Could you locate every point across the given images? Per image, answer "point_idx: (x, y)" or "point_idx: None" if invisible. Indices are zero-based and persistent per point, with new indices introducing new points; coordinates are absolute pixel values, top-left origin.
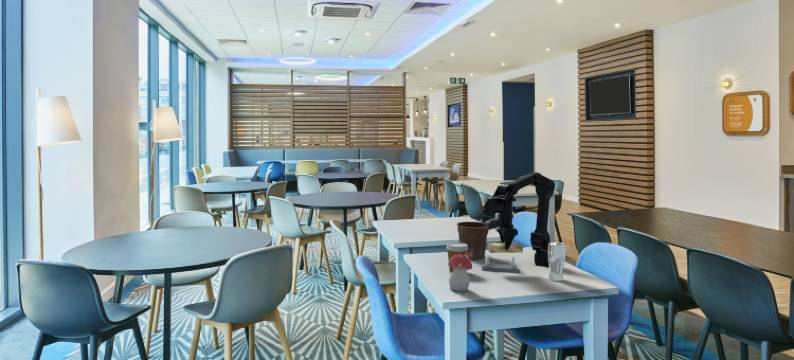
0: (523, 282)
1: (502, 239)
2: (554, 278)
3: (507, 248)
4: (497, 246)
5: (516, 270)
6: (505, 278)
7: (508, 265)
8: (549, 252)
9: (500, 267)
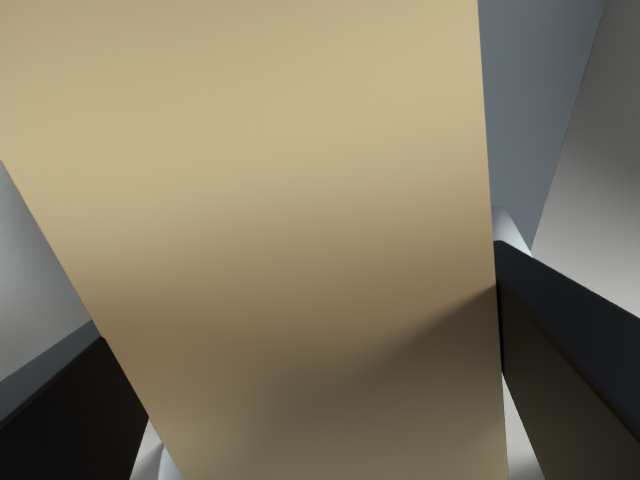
0: (24, 265)
1: (542, 376)
2: (159, 466)
3: None
4: (7, 138)
5: None
6: None
7: (503, 179)
8: None
9: None
